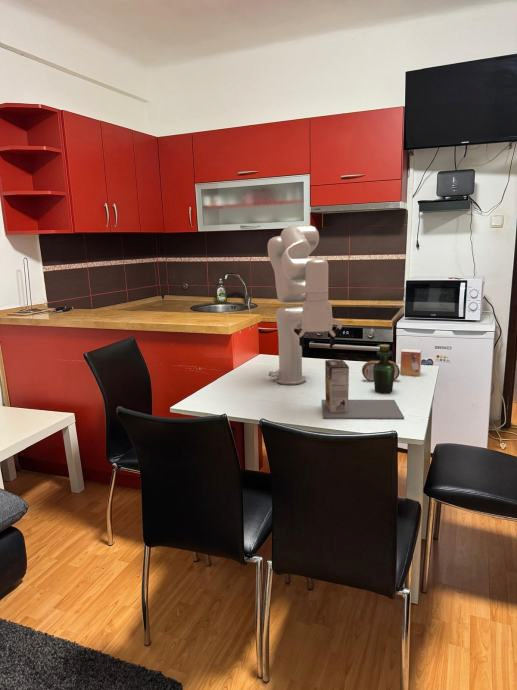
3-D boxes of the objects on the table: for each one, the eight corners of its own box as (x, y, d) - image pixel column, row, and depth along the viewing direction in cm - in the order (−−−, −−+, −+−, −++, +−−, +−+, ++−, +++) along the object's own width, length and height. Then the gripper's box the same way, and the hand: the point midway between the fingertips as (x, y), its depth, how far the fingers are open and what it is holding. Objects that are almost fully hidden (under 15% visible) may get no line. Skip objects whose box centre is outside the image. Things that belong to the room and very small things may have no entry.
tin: (398, 379, 203) (399, 360, 201) (400, 382, 200) (400, 362, 198) (361, 379, 204) (362, 360, 203) (362, 382, 201) (362, 362, 200)
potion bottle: (373, 387, 194) (374, 342, 190) (395, 388, 191) (396, 343, 187) (371, 393, 186) (372, 347, 182) (393, 395, 183) (394, 348, 180)
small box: (399, 375, 209) (400, 351, 207) (401, 371, 214) (402, 348, 212) (419, 376, 206) (420, 352, 204) (420, 373, 211) (421, 349, 209)
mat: (323, 418, 162) (323, 417, 162) (321, 401, 179) (321, 399, 179) (404, 419, 159) (404, 417, 159) (394, 401, 177) (394, 399, 177)
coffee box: (324, 403, 174) (324, 359, 171) (342, 403, 175) (342, 359, 171) (330, 412, 165) (330, 366, 162) (348, 411, 166) (349, 365, 162)
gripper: (290, 299, 159) (291, 350, 163) (344, 298, 158) (343, 349, 162) (290, 296, 167) (291, 345, 170) (341, 295, 165) (341, 344, 169)
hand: (316, 347), depth 166 cm, fingers open, 9 cm apart
